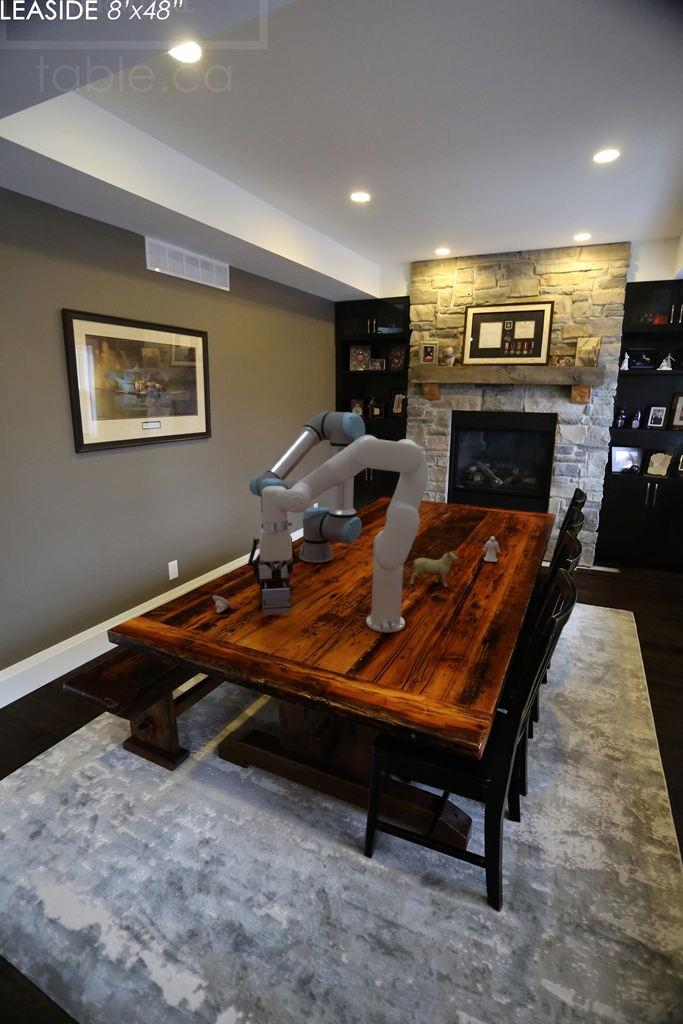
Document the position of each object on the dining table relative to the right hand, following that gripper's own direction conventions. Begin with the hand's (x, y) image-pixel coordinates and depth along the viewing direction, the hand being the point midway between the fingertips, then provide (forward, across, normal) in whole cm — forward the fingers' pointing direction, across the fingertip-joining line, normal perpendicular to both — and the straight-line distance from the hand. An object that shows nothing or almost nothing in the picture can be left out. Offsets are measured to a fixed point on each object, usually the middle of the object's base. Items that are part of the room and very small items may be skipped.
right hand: (276, 580), depth 161 cm
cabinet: (+14, 0, -17) cm, 22 cm away
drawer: (+13, 0, -6) cm, 14 cm away
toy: (+14, -62, -21) cm, 67 cm away
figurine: (+15, -98, -45) cm, 109 cm away
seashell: (+14, +18, -10) cm, 25 cm away
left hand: (+8, 0, -19) cm, 21 cm away
